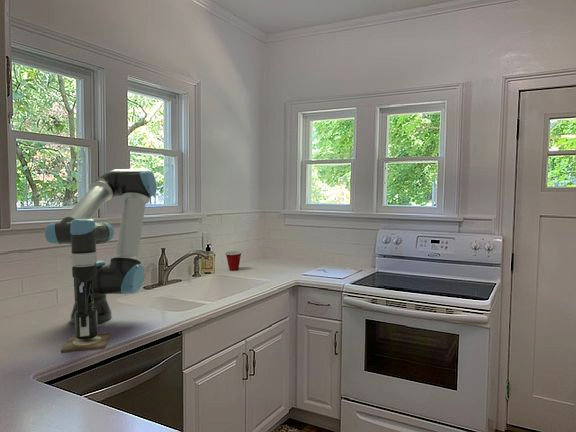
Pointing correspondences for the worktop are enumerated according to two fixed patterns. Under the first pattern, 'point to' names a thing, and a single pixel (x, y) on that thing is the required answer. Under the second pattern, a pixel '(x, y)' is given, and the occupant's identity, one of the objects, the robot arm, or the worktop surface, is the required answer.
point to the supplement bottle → (92, 323)
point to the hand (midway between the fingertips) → (87, 332)
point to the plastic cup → (233, 259)
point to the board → (86, 343)
